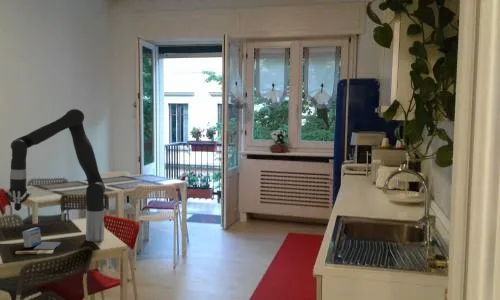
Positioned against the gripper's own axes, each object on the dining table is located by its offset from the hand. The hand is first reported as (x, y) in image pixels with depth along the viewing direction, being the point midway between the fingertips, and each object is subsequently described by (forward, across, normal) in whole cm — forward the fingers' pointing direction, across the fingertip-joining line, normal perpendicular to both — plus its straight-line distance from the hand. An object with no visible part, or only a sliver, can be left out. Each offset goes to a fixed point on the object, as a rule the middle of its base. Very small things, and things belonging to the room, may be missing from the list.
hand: (17, 210), depth 222 cm
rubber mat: (+19, -16, 0) cm, 25 cm away
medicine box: (+19, -8, 0) cm, 21 cm away
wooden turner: (+19, -14, +11) cm, 26 cm away
